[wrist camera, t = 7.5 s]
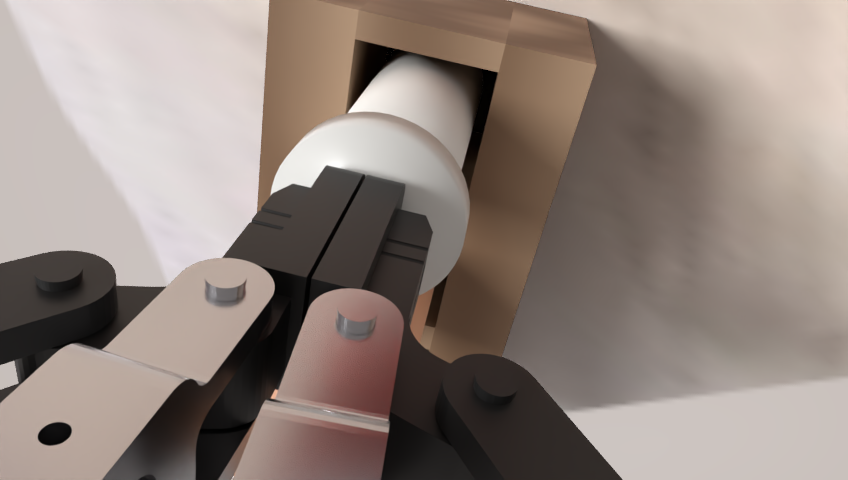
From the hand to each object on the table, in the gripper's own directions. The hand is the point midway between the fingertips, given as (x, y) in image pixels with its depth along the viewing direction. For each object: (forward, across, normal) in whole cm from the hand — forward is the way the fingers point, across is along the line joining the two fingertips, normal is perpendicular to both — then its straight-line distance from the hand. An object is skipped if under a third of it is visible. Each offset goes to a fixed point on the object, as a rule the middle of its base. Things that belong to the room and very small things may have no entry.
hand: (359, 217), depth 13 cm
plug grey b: (+9, 0, 0) cm, 9 cm away
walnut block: (+10, 0, +5) cm, 11 cm away
